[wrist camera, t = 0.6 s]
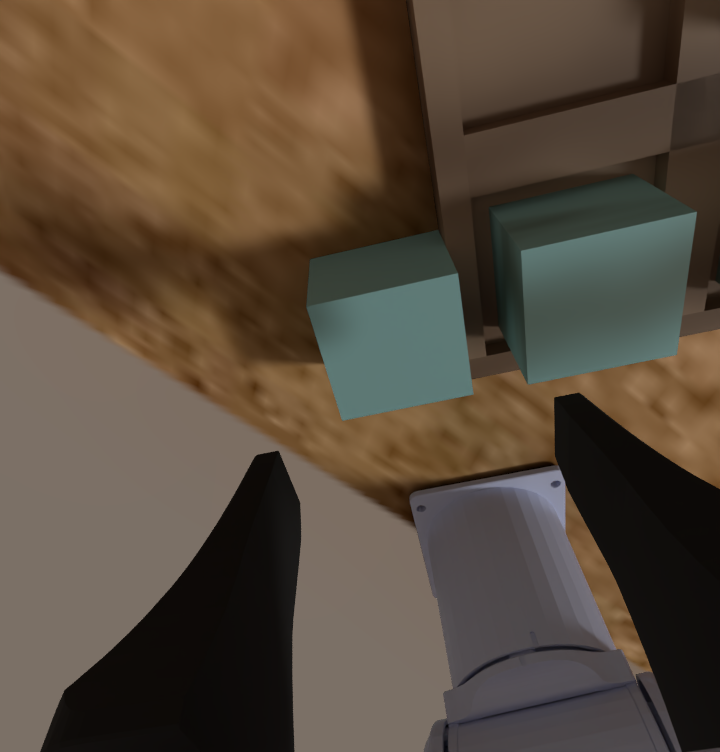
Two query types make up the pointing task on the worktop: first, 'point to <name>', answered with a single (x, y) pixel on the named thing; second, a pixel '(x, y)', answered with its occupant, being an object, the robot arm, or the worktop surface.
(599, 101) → the puzzle tray
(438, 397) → the teal block
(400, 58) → the worktop surface
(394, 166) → the worktop surface
